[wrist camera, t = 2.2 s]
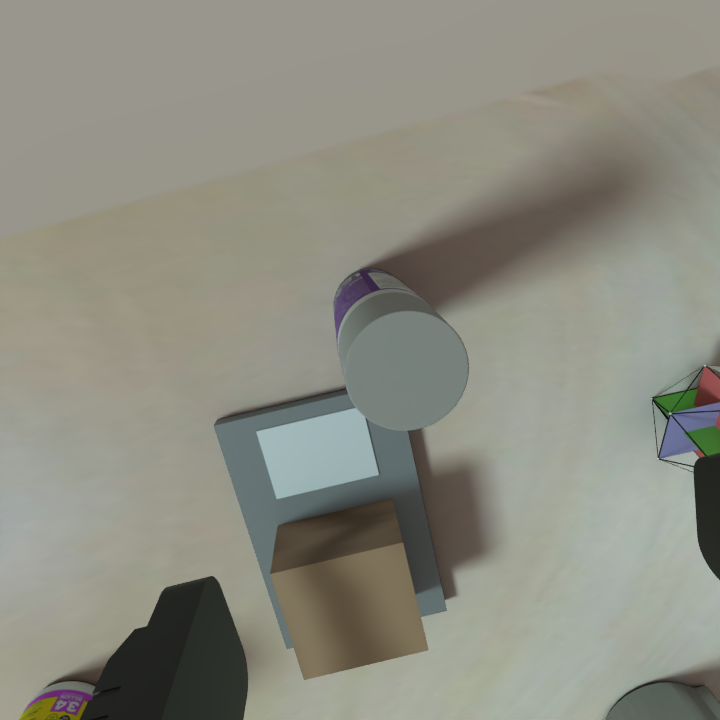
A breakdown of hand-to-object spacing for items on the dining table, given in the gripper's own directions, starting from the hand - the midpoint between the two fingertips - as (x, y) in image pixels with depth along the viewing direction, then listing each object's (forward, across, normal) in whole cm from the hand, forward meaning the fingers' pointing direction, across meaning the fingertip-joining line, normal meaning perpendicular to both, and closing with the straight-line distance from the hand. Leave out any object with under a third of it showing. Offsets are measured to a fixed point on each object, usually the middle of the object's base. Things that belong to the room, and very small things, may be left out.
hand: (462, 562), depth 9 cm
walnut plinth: (+25, +5, +17) cm, 31 cm away
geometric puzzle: (+25, -20, +12) cm, 34 cm away
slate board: (+25, +5, +14) cm, 29 cm away
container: (+25, -1, 0) cm, 25 cm away
